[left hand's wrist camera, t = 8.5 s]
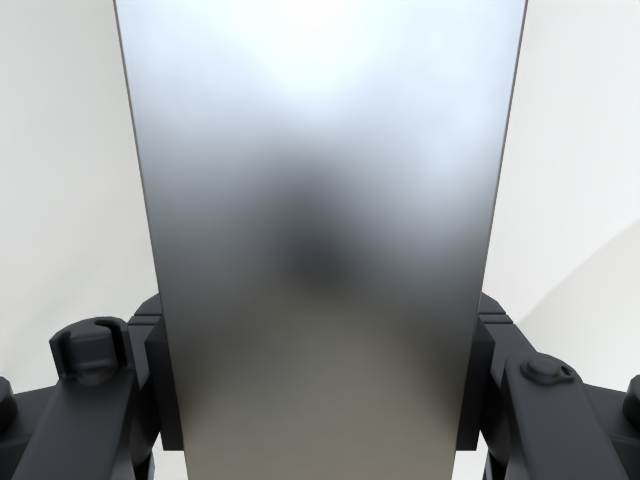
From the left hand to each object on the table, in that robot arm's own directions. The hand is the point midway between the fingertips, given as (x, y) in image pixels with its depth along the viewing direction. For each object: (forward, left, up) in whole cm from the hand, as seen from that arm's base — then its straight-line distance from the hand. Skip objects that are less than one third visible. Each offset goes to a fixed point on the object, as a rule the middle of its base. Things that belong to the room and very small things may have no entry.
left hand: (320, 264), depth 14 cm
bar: (+13, +3, -1) cm, 13 cm away
